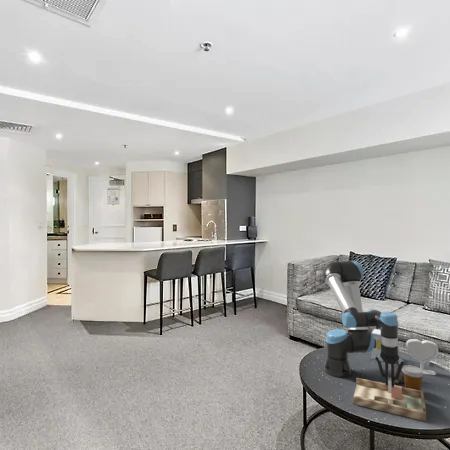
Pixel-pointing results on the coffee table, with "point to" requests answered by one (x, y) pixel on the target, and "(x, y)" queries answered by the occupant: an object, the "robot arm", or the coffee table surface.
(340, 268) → the robot arm
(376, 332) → the supplement box
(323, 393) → the coffee table surface
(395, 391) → the terracotta block
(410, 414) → the box
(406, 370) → the disposable coffee cup
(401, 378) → the mineral rock
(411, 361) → the coffee table surface
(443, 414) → the coffee table surface
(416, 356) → the heart sculpture
